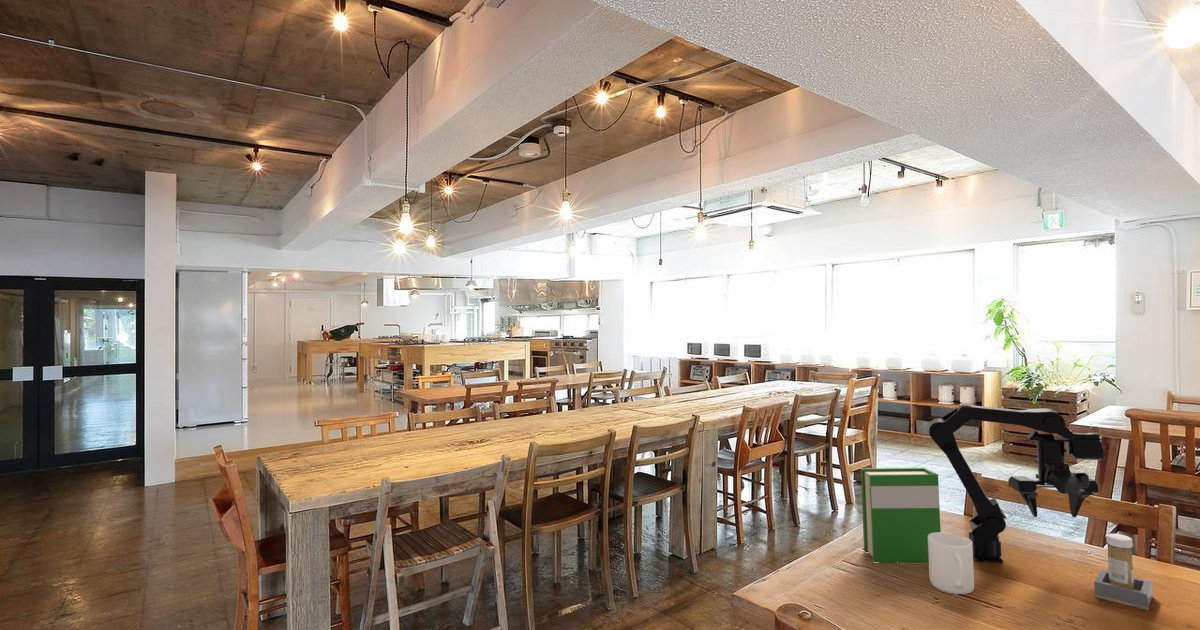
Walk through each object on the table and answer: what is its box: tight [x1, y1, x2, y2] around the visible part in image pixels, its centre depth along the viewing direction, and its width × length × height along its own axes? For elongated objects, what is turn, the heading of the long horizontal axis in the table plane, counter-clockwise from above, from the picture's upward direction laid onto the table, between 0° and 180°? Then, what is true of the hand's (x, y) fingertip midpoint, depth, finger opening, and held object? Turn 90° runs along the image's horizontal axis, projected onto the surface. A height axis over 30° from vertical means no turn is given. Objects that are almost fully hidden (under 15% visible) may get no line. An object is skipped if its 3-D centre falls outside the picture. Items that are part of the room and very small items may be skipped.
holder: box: [1093, 569, 1154, 611], centre depth 133 cm, size 9×9×4 cm
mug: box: [928, 531, 975, 595], centre depth 140 cm, size 10×12×12 cm
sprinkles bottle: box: [1105, 533, 1135, 589], centre depth 133 cm, size 5×5×14 cm
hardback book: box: [860, 467, 942, 564], centre depth 159 cm, size 18×7×24 cm, turn 85°
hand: (1054, 516), depth 150 cm, fingers open, 9 cm apart
